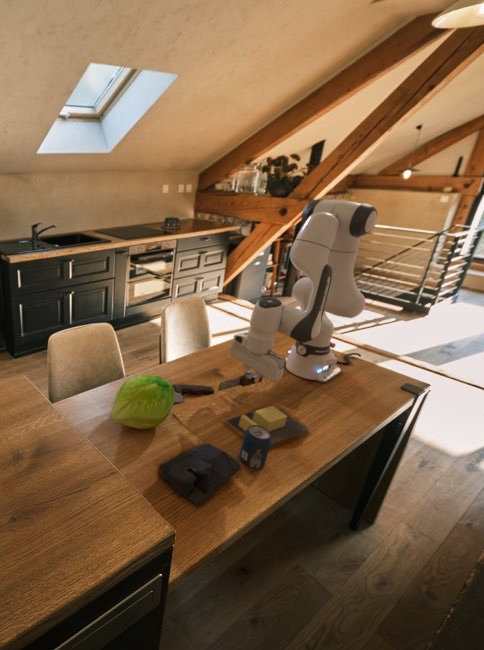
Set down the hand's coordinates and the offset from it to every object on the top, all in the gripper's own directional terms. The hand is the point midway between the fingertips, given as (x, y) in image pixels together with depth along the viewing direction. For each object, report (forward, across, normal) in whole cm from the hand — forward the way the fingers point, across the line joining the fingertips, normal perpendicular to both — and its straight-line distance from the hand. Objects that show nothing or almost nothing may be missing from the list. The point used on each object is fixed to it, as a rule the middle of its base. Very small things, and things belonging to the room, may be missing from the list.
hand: (250, 378), depth 136 cm
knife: (+2, 0, +5) cm, 5 cm away
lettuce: (+11, +5, +42) cm, 44 cm away
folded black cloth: (+11, -20, +37) cm, 44 cm away
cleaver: (+11, +13, +21) cm, 27 cm away
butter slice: (+9, -13, +13) cm, 20 cm away
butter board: (+10, -14, +4) cm, 18 cm away
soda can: (+11, -23, +21) cm, 33 cm away
